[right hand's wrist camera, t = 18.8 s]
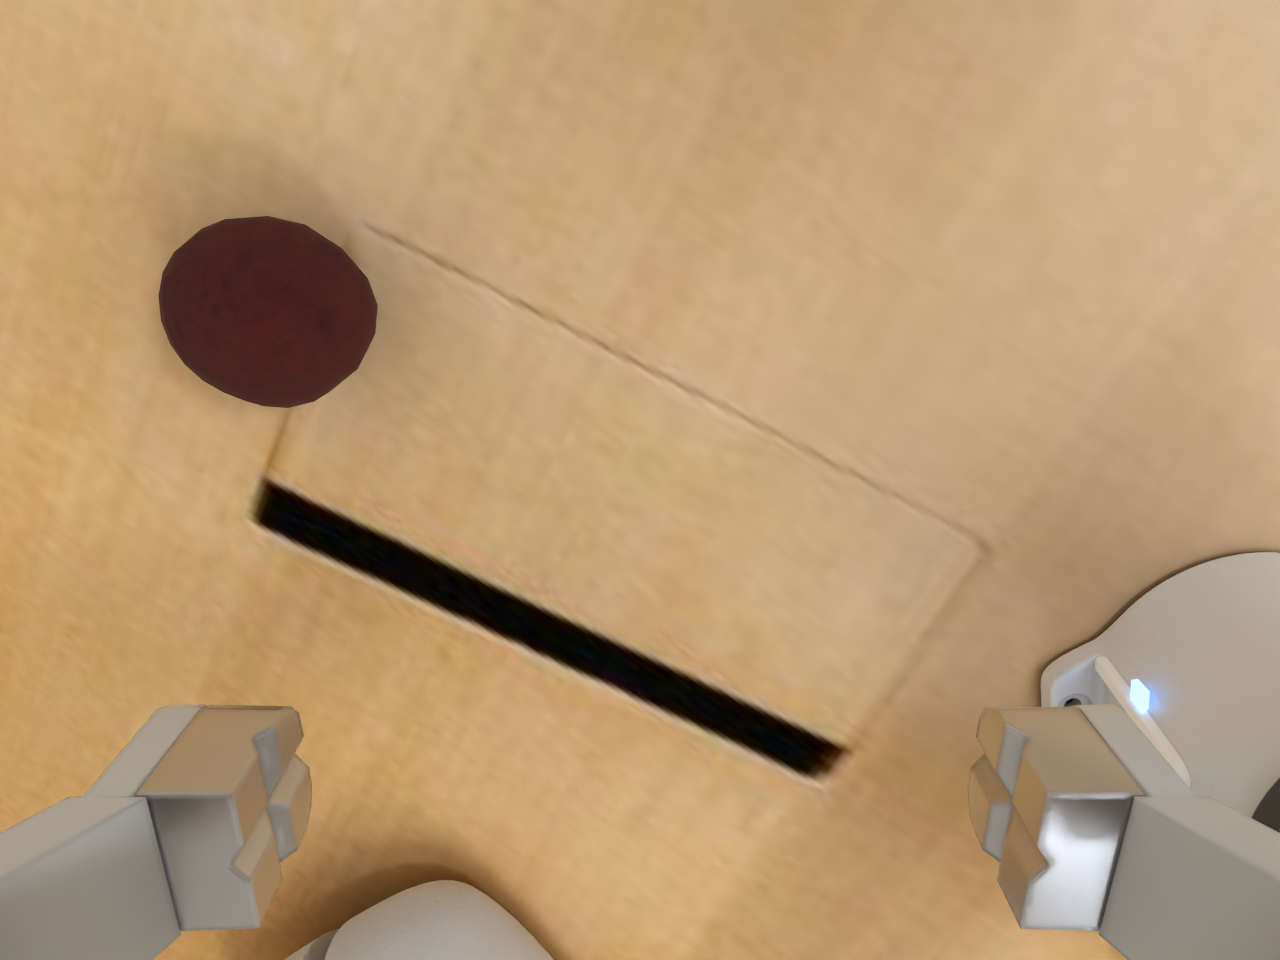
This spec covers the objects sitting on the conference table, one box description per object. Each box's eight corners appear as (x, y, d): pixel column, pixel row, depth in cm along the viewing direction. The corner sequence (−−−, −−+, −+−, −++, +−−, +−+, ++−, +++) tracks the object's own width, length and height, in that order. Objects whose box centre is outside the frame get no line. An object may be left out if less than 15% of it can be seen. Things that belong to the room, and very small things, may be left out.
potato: (197, 210, 37) (100, 227, 30) (385, 206, 36) (329, 223, 30) (231, 384, 39) (148, 434, 33) (406, 380, 39) (358, 430, 33)
